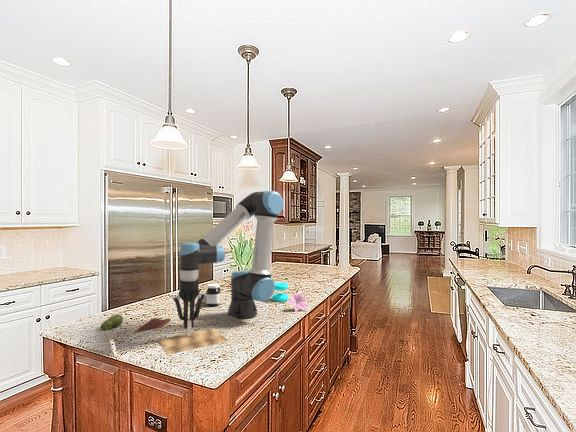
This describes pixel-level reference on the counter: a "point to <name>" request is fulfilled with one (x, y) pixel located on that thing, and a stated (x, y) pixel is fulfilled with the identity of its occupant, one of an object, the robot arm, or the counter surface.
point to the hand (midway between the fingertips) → (188, 335)
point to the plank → (184, 339)
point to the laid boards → (194, 344)
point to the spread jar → (212, 295)
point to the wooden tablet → (153, 324)
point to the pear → (112, 322)
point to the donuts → (280, 296)
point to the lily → (298, 301)
